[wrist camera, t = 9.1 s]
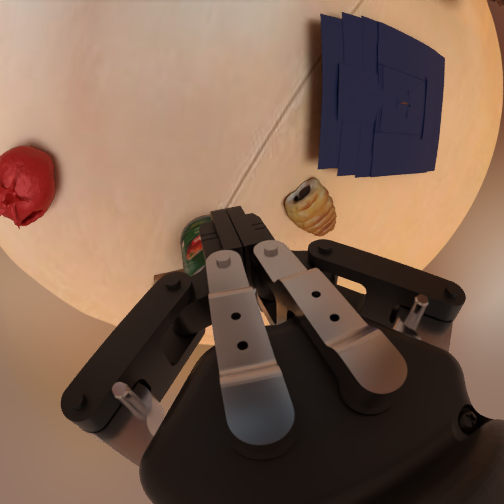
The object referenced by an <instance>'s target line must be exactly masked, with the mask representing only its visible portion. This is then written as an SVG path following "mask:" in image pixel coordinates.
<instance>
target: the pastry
mask: <svg viewBox="0 0 504 504" xmlns="http://www.w3.org/2000/svg"><path fill="white" fill-rule="evenodd" d="M285 209H286V211H287V215H288V217H289V219H291V220H292V221H293V222H294V223H295V224H296V225H297V226H298V227H299V228H301V229H303V230H304V231H307V232H308V233H312V234H314V235H315V236H323V235H325V234H327V233H328V232H329V231H332V230H333V229H334V226H335V224H336V212H335V207H334V205H333V200H332V198H331V197H330V196H329V193H328V191H327V189H326V188H325V187H323V186H322V185H321V183H320V182H319V180H318V179H316V178H313V179H309V180H308V181H305V182H304V183H302V184H301V185H300V186H299V187H298V189H297V190H296V191H295V192H294V193H292V194H290V195H289V196H288V197H287V199H286V201H285Z"/></svg>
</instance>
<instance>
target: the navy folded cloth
mask: <svg viewBox="0 0 504 504" xmlns="http://www.w3.org/2000/svg"><path fill="white" fill-rule="evenodd" d="M320 16H321V37H322V111H321V131H320V146H319V160H318V169H328V168H338V172H337V176H346V175H355V178H357V177H378V176H389V175H401V174H415V173H424V172H427V171H434V170H435V163H436V157H437V150H438V142H439V134H440V123H441V112H442V102H443V89H444V69H445V58H444V57H443V56H441V55H440V54H438V53H437V52H436V51H435V50H433V49H432V48H430V47H429V46H427V45H425V44H424V43H422V42H420V41H418V40H416V39H414V38H413V37H411V36H409V35H407V34H405V33H403V32H401V31H399V30H397V29H395V28H392V27H390V26H388V25H386V24H383V23H381V22H379V21H378V22H377V21H375V20H372V19H369V18H367V17H364V16H361V18H360V17H357V16H354V15H350V14H347V13H344V12H342V19H339V18H335V17H331V16H327V15H323V14H320Z"/></svg>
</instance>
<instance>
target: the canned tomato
mask: <svg viewBox="0 0 504 504" xmlns="http://www.w3.org/2000/svg"><path fill="white" fill-rule="evenodd" d="M206 222H211V216H210V215H206V216H201V217H198V218H196V219H194V220H193V221H191V222H190V223H189V224H188V225H187V226H186V227H185V229H184V230H183V232H182V235H181V241H180V243H181V250H182V259H183V268H184V273H187V274H188V275H189V276H192V275H195V274H196V273H198V272H200V271H201V270H202V269H203V268H204V266H205V264H206V261H205V257H204V253H203V248H202V243H201V238H200V233H199V228H200V226H201V224H202V223H206ZM253 290H254V294H255V292H256V289H253Z"/></svg>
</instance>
